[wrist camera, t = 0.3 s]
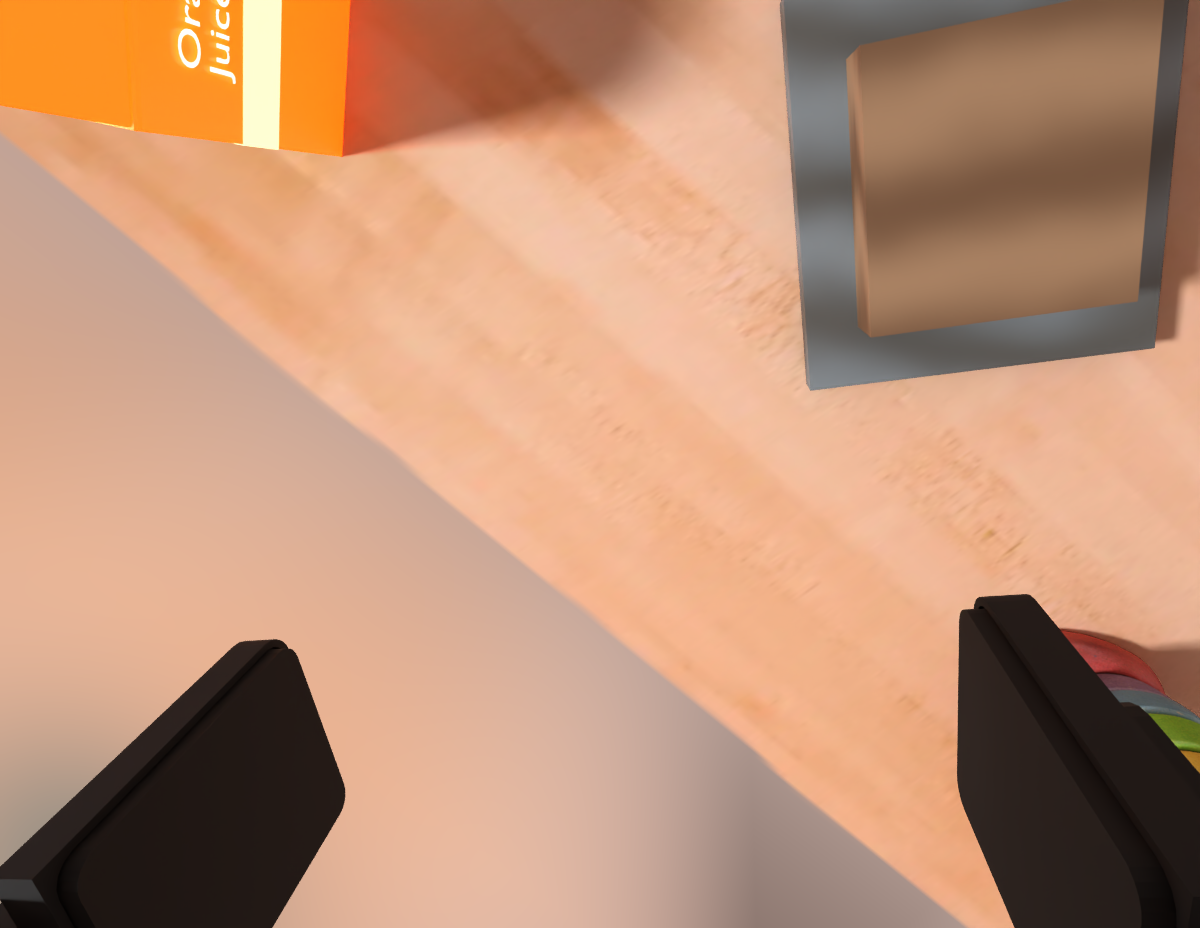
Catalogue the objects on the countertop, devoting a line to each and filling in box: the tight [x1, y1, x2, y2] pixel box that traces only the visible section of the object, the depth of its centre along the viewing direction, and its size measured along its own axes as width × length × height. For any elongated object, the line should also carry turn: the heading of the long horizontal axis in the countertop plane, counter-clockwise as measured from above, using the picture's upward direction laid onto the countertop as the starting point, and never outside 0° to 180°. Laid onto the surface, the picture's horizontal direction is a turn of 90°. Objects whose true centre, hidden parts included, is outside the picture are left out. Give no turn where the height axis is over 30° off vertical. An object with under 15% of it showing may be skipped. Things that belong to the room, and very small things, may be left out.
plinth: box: [780, 0, 1189, 391], centre depth 31 cm, size 18×16×4 cm
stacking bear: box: [1061, 631, 1200, 773], centre depth 34 cm, size 11×10×18 cm
